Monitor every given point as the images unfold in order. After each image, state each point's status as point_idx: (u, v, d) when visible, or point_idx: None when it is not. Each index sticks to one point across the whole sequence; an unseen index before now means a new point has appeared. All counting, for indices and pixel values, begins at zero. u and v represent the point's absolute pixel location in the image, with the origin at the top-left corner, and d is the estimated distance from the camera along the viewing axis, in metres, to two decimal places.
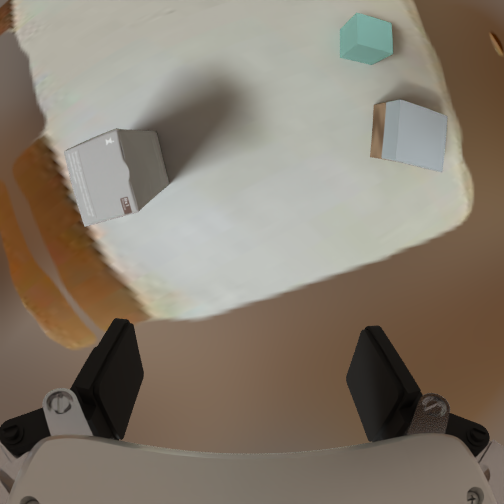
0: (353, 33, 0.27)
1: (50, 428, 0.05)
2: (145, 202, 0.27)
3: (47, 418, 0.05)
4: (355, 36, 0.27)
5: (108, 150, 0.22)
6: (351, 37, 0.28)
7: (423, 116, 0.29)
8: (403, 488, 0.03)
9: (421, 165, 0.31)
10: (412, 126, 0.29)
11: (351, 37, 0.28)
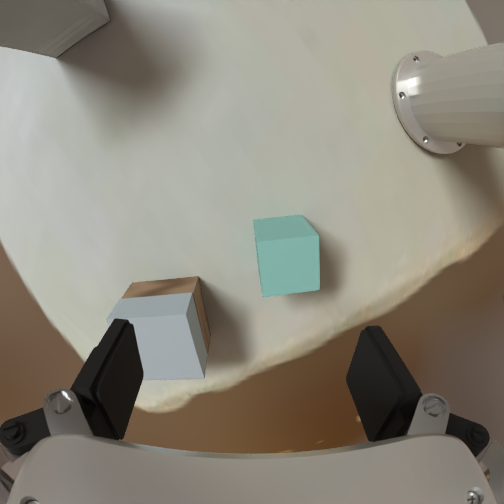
0: (280, 233, 0.24)
1: (50, 428, 0.05)
2: None
3: (47, 418, 0.05)
4: (273, 236, 0.24)
5: None
6: (276, 231, 0.25)
7: (181, 348, 0.26)
8: (403, 488, 0.03)
9: None
10: (159, 335, 0.25)
11: (275, 231, 0.25)
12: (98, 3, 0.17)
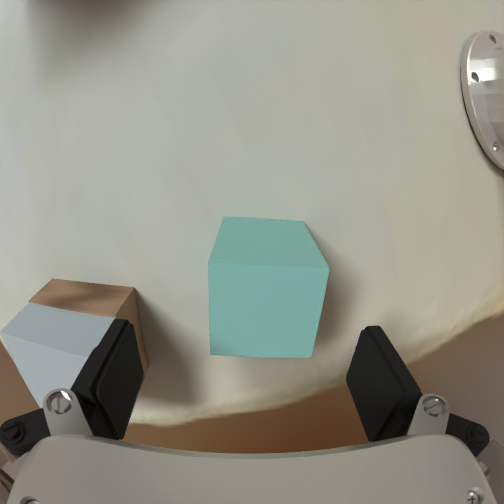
0: (258, 252, 0.13)
1: (50, 428, 0.05)
2: None
3: (47, 418, 0.05)
4: (243, 255, 0.13)
5: None
6: (252, 246, 0.14)
7: None
8: (403, 488, 0.03)
9: (23, 376, 0.14)
10: (61, 373, 0.14)
11: (250, 245, 0.14)
12: None
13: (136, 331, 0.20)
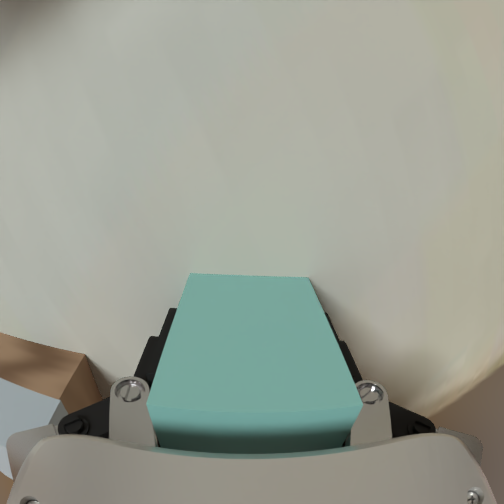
0: (238, 371, 0.07)
1: (111, 413, 0.06)
2: None
3: (111, 403, 0.07)
4: (209, 384, 0.06)
5: None
6: (228, 353, 0.08)
7: None
8: (403, 488, 0.03)
9: None
10: (8, 459, 0.07)
11: (224, 351, 0.08)
12: None
13: (94, 403, 0.14)
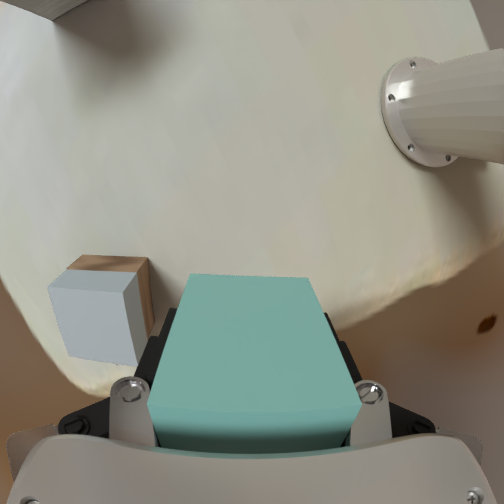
0: (238, 371, 0.07)
1: (111, 413, 0.06)
2: None
3: (111, 403, 0.07)
4: (209, 384, 0.06)
5: None
6: (228, 353, 0.08)
7: (116, 329, 0.23)
8: (403, 488, 0.03)
9: (59, 325, 0.22)
10: (95, 312, 0.22)
11: (223, 351, 0.08)
12: None
13: (147, 290, 0.29)
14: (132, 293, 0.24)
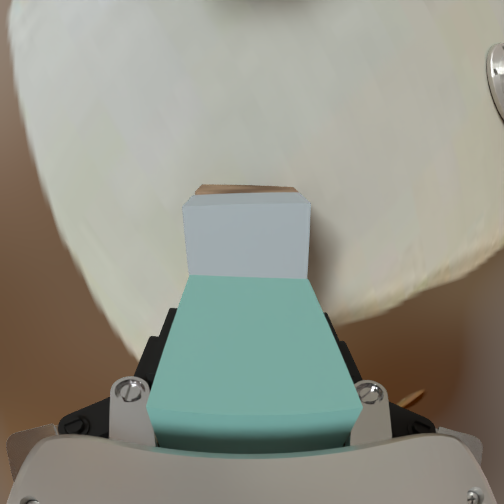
0: (238, 374, 0.07)
1: (111, 413, 0.06)
2: None
3: (111, 403, 0.07)
4: (209, 387, 0.06)
5: None
6: (228, 355, 0.07)
7: (288, 259, 0.19)
8: (403, 488, 0.03)
9: (190, 268, 0.19)
10: (262, 236, 0.19)
11: (224, 353, 0.08)
12: None
13: None
14: None
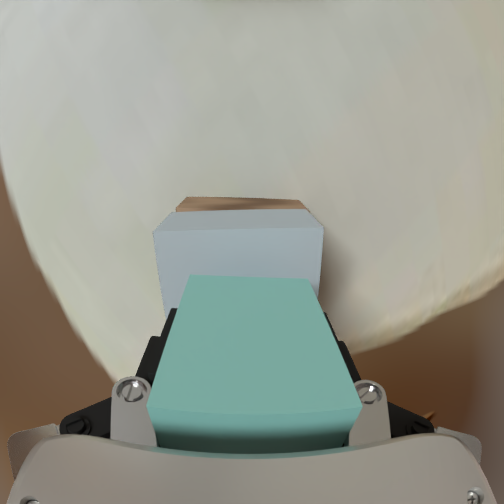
0: (238, 373, 0.07)
1: (112, 413, 0.06)
2: None
3: (113, 402, 0.07)
4: (209, 385, 0.06)
5: None
6: (228, 355, 0.08)
7: None
8: (403, 488, 0.03)
9: (167, 308, 0.15)
10: (258, 271, 0.14)
11: (224, 352, 0.08)
12: None
13: None
14: None
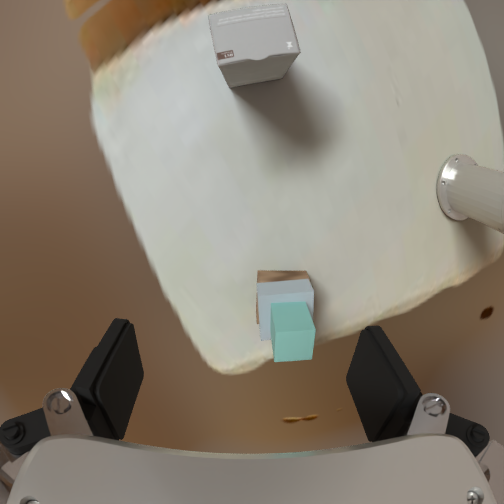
0: (290, 324, 0.36)
1: (50, 428, 0.05)
2: (223, 70, 0.25)
3: (47, 418, 0.05)
4: (286, 327, 0.35)
5: (280, 43, 0.22)
6: (288, 322, 0.36)
7: None
8: (403, 488, 0.03)
9: (260, 320, 0.42)
10: None
11: (287, 321, 0.36)
12: None
13: None
14: None
